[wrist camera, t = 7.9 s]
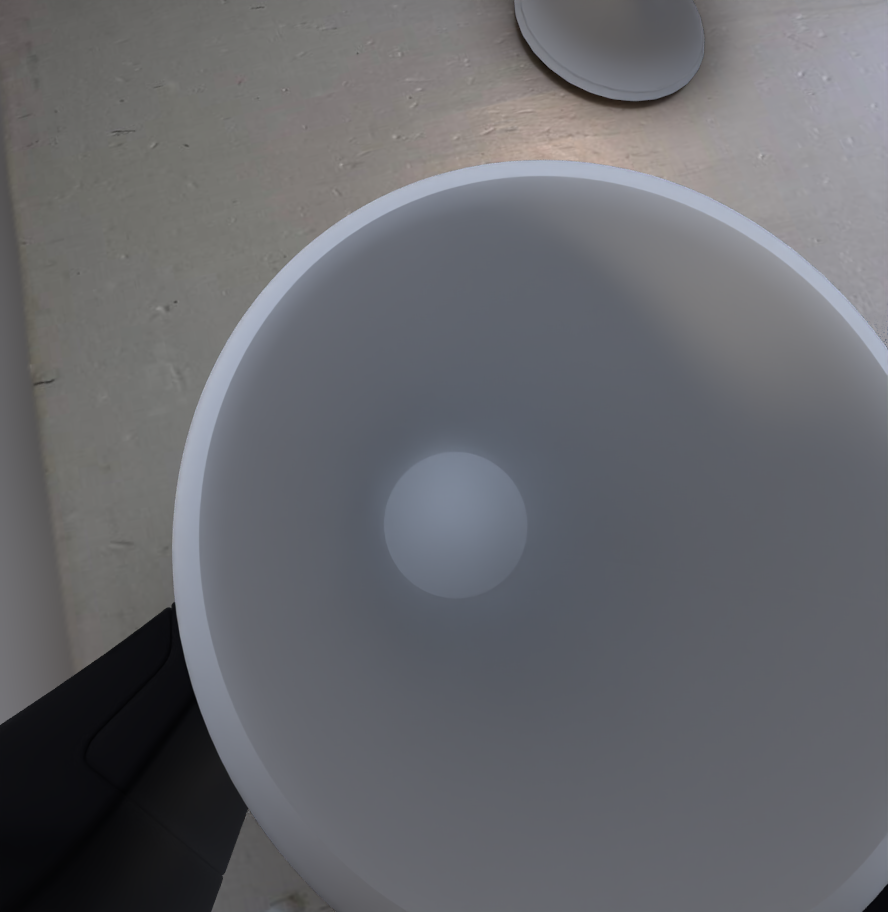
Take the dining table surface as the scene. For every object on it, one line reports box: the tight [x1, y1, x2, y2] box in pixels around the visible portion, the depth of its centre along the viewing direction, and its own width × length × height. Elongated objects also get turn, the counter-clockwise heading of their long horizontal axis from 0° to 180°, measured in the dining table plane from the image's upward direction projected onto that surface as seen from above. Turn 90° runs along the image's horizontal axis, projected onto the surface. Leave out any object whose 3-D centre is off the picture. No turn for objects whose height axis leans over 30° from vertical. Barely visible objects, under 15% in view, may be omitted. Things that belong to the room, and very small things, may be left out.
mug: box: [172, 160, 888, 912], centre depth 8 cm, size 10×7×12 cm, turn 159°
